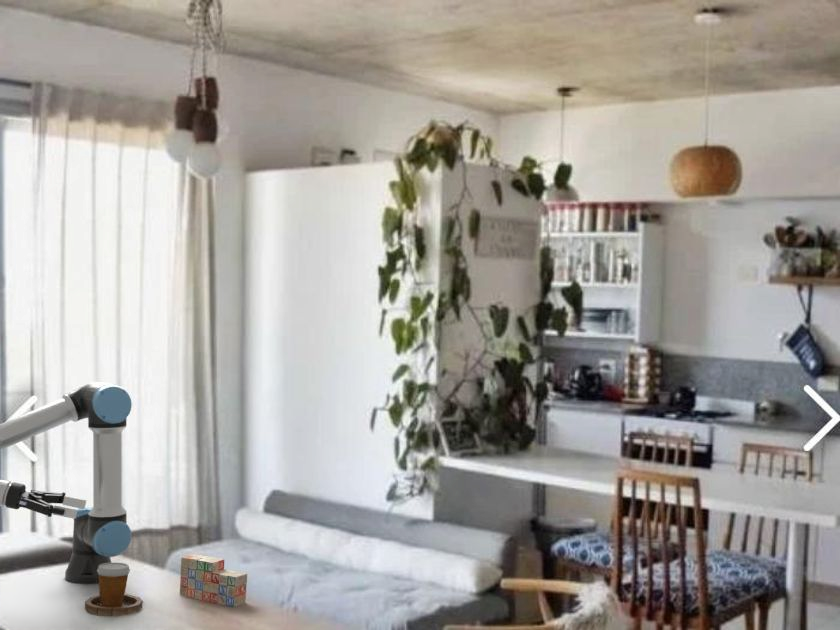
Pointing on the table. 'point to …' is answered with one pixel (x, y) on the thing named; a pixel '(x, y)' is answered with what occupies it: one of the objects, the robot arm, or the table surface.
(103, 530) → the robot arm
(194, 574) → the stack of blocks
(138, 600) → the walnut bead ring
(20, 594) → the table surface
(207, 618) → the table surface
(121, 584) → the disposable coffee cup
